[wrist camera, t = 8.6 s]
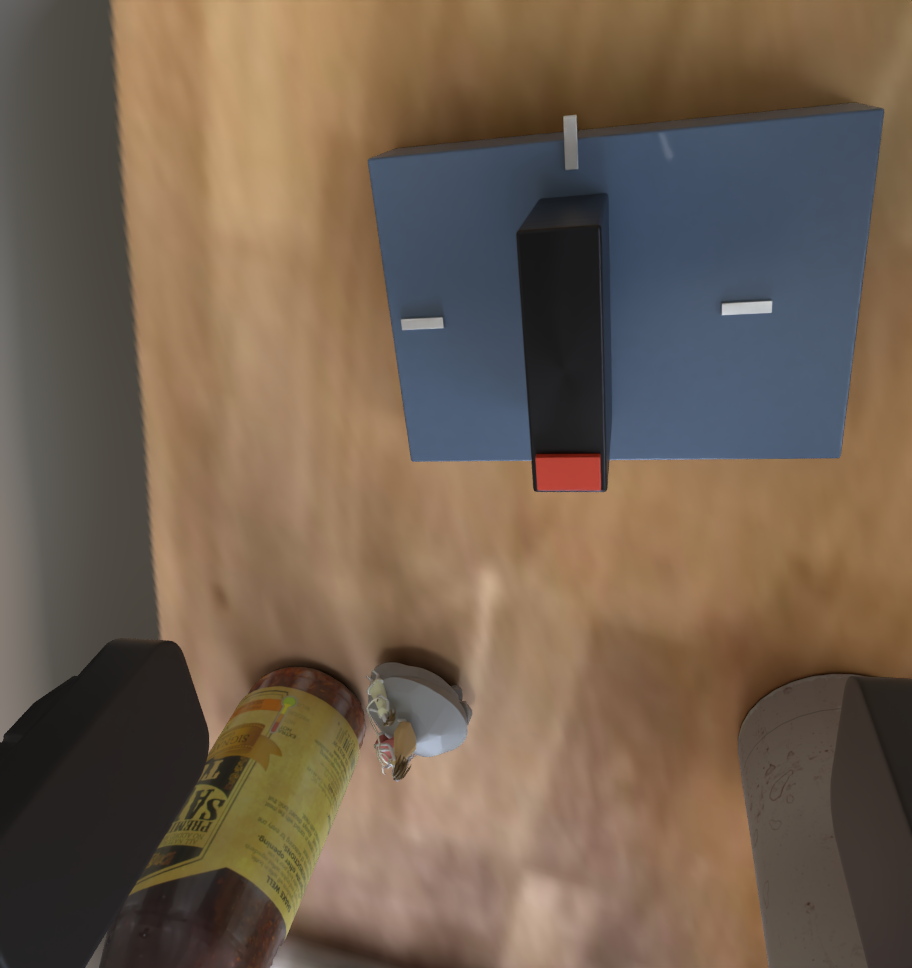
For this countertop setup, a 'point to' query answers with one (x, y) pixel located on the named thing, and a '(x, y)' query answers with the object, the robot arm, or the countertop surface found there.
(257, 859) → the sauce bottle
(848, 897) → the thermos bottle
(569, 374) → the black and red block
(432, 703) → the figurine
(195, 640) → the countertop surface
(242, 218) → the countertop surface
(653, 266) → the rotary switch base
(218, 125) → the countertop surface
